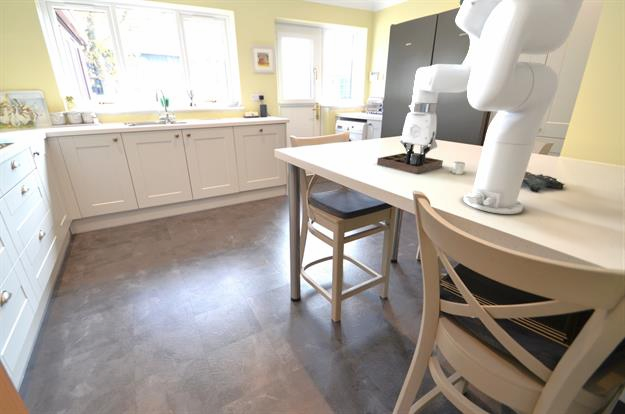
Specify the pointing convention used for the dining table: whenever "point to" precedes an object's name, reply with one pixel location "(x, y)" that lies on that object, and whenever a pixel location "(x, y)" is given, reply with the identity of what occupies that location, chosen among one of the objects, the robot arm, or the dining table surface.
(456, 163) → the white stone
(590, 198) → the dining table surface
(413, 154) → the black stone
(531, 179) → the decorative rock
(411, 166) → the board
